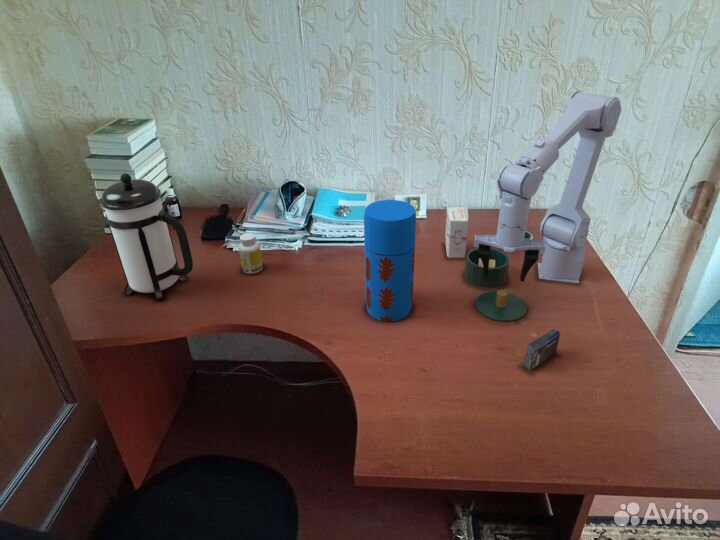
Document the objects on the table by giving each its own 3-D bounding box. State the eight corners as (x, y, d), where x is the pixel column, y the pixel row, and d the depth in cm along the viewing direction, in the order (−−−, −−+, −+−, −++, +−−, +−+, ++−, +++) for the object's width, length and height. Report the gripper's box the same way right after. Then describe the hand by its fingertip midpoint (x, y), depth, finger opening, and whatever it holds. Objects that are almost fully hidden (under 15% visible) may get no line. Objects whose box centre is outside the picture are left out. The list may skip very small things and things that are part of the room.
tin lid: (525, 298, 117) (528, 282, 115) (526, 327, 108) (529, 310, 106) (476, 292, 120) (478, 276, 118) (473, 320, 111) (475, 303, 108)
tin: (506, 270, 128) (509, 250, 125) (505, 292, 120) (509, 271, 117) (465, 265, 131) (467, 245, 128) (462, 286, 122) (464, 266, 119)
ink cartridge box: (443, 244, 141) (447, 196, 133) (461, 244, 141) (465, 196, 133) (447, 259, 134) (450, 209, 126) (465, 259, 133) (470, 209, 126)
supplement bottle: (265, 264, 134) (260, 231, 129) (259, 274, 129) (254, 241, 124) (245, 263, 134) (240, 231, 129) (239, 274, 130) (233, 241, 125)
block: (493, 273, 126) (495, 259, 124) (492, 281, 123) (494, 268, 121) (477, 271, 127) (479, 258, 125) (476, 279, 124) (478, 266, 122)
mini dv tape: (529, 372, 96) (534, 348, 93) (523, 368, 97) (527, 344, 94) (555, 355, 100) (560, 331, 97) (548, 351, 101) (554, 328, 98)
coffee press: (125, 311, 116) (85, 192, 101) (125, 278, 129) (89, 168, 113) (200, 294, 122) (173, 179, 106) (193, 264, 134) (168, 157, 119)
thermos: (409, 324, 110) (412, 223, 97) (361, 319, 112) (359, 219, 99) (414, 297, 119) (418, 200, 106) (370, 292, 121) (369, 197, 108)
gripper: (475, 227, 101) (469, 282, 109) (550, 234, 98) (538, 291, 105) (477, 212, 107) (471, 266, 114) (548, 219, 104) (537, 273, 111)
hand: (503, 277), depth 110 cm, fingers open, 7 cm apart
